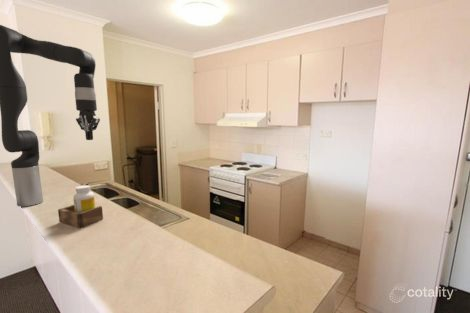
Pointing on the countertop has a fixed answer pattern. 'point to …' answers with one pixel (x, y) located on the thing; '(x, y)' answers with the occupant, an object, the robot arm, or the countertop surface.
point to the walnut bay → (79, 216)
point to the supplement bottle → (83, 199)
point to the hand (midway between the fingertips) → (89, 139)
